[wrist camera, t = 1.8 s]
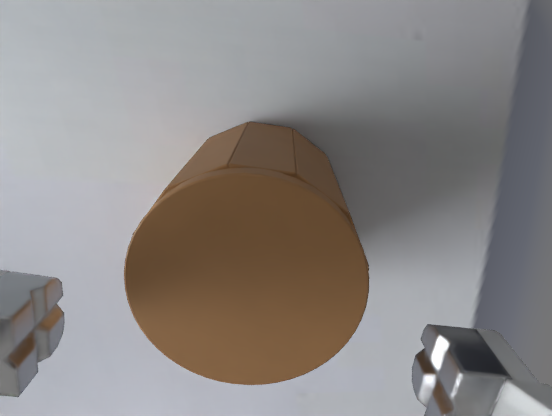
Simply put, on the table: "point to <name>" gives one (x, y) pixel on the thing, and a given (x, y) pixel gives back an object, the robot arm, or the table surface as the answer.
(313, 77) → the table surface
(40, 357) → the robot arm
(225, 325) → the brown cylinder
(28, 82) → the table surface
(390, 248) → the table surface
